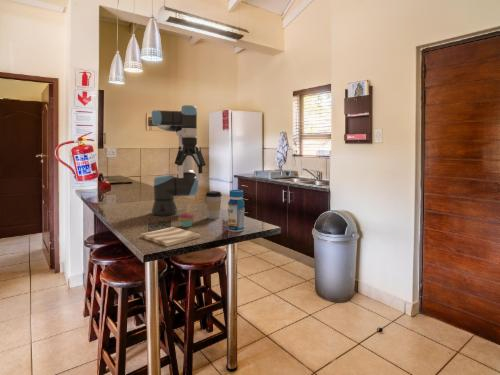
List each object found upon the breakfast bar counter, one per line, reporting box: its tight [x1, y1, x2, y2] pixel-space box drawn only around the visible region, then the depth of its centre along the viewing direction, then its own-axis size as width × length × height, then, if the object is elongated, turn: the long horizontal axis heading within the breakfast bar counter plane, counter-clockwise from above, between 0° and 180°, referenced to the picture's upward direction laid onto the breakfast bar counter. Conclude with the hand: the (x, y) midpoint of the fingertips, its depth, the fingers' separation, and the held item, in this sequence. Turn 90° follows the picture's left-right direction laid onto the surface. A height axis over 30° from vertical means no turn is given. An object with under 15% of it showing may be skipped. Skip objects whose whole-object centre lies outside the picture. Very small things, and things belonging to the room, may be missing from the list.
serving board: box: [140, 226, 201, 247], centre depth 148 cm, size 20×18×2 cm
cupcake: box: [177, 203, 196, 228], centre depth 168 cm, size 9×8×12 cm
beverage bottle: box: [227, 189, 246, 233], centre depth 161 cm, size 8×8×20 cm
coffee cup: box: [205, 190, 223, 220], centre depth 188 cm, size 9×9×15 cm
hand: (189, 178), depth 166 cm, fingers open, 13 cm apart
